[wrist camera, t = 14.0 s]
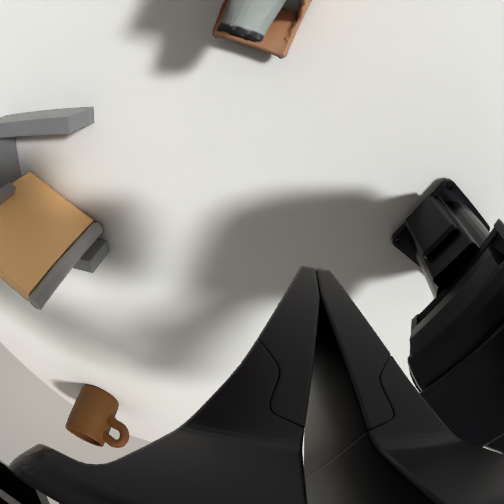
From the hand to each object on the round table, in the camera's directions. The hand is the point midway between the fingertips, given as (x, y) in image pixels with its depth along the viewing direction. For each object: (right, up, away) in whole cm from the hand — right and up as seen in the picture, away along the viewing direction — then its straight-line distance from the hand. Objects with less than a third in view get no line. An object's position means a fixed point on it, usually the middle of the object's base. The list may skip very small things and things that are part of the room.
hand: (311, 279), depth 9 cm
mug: (-27, -25, +37) cm, 52 cm away
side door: (-18, +5, +14) cm, 23 cm away
